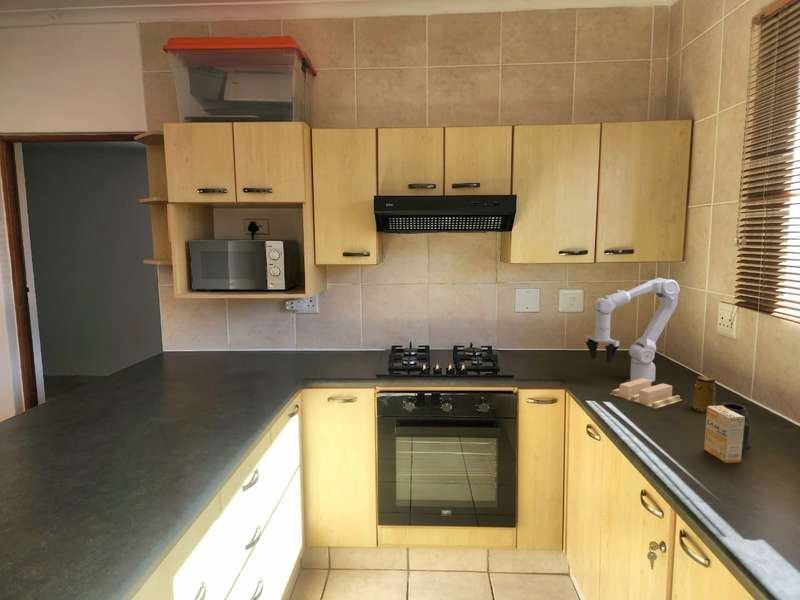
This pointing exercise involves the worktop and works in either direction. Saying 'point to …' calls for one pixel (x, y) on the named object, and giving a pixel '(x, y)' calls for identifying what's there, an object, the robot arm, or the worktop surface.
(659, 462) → the worktop surface
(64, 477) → the worktop surface
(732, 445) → the supplement box
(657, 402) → the rack
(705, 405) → the condiment
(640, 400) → the clay bar
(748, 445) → the mug
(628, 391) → the clay bar
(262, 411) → the worktop surface
